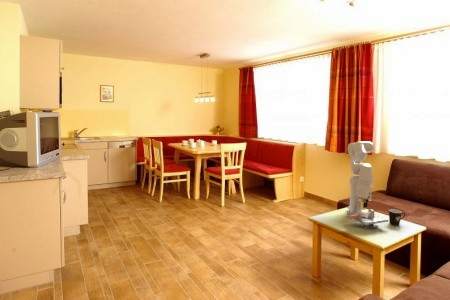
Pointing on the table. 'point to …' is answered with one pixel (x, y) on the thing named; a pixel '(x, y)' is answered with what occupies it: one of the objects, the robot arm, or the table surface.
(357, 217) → the bracket
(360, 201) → the yellow block
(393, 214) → the coffee mug
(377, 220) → the square metal plate
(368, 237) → the table surface
